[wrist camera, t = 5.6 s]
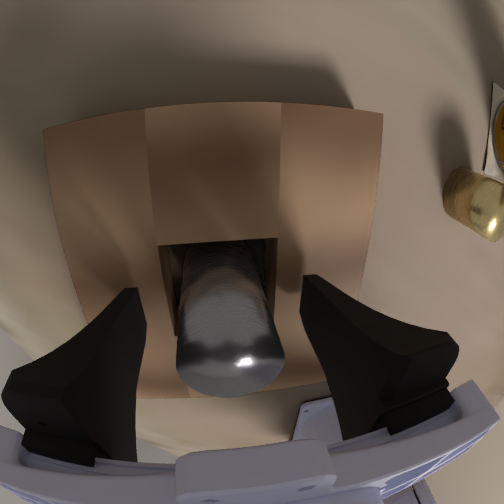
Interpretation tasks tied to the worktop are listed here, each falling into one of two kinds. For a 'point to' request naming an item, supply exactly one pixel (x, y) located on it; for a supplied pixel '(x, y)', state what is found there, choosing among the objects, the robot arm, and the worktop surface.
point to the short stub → (475, 202)
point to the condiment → (496, 136)
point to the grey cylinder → (225, 323)
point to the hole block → (215, 210)
